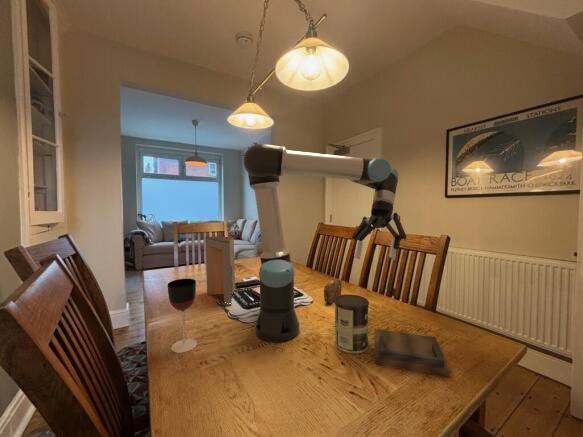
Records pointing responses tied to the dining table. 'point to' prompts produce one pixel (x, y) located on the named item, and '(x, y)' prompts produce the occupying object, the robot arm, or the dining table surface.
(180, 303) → the wineglass
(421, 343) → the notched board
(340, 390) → the dining table surface
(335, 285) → the brown rounded slab
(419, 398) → the dining table surface
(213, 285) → the cabinet
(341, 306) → the coffee can
